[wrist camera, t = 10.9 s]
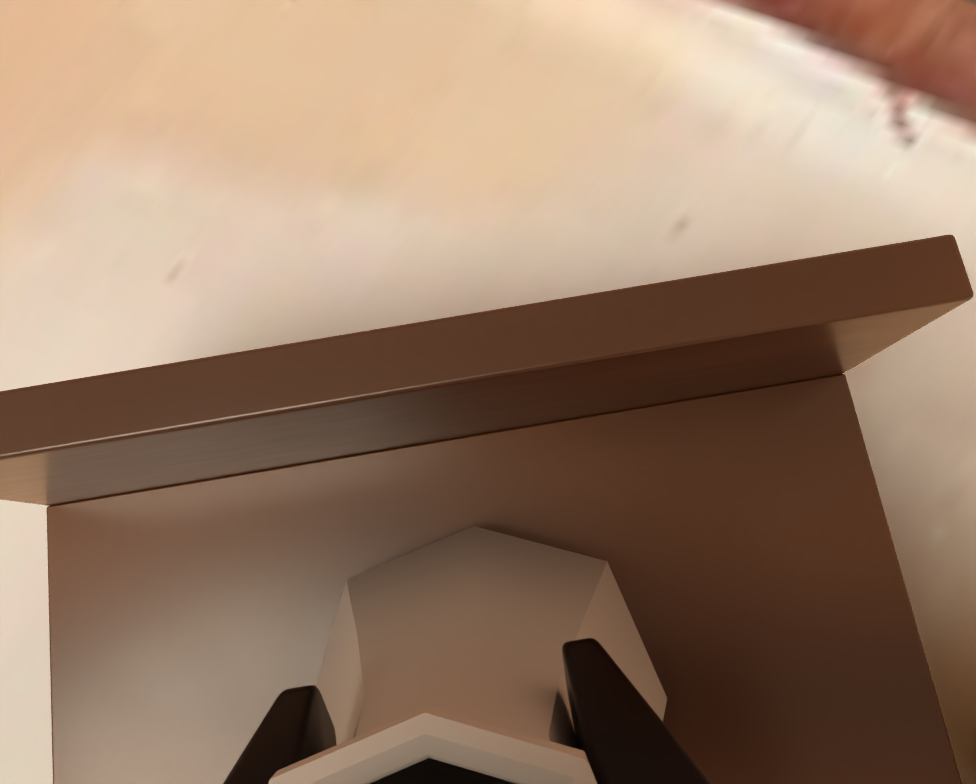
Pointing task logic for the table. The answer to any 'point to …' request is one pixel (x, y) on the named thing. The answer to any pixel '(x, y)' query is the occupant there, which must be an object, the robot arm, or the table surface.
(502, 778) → the flask
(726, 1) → the table surface
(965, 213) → the table surface
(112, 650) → the spice rack
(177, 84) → the table surface
